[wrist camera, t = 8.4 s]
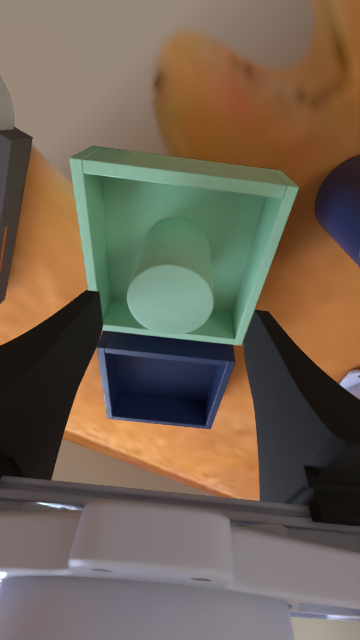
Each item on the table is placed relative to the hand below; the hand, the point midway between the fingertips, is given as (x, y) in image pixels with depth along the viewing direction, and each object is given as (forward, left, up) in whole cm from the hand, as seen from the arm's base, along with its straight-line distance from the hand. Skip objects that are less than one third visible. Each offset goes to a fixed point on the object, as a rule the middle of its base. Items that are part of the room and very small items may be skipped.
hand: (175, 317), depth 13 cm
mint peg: (0, 0, -7) cm, 7 cm away
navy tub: (0, +13, -8) cm, 15 cm away
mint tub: (0, 0, -8) cm, 8 cm away
